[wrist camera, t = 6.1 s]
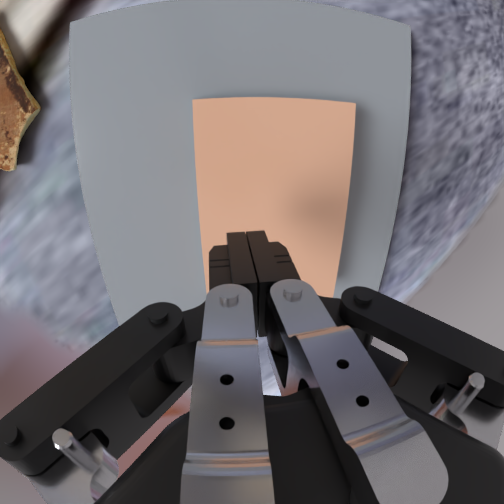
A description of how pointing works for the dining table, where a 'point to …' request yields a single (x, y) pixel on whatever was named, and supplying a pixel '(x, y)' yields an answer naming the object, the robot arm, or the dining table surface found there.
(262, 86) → the board
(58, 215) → the dining table surface
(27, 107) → the shard
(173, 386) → the robot arm
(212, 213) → the tile
